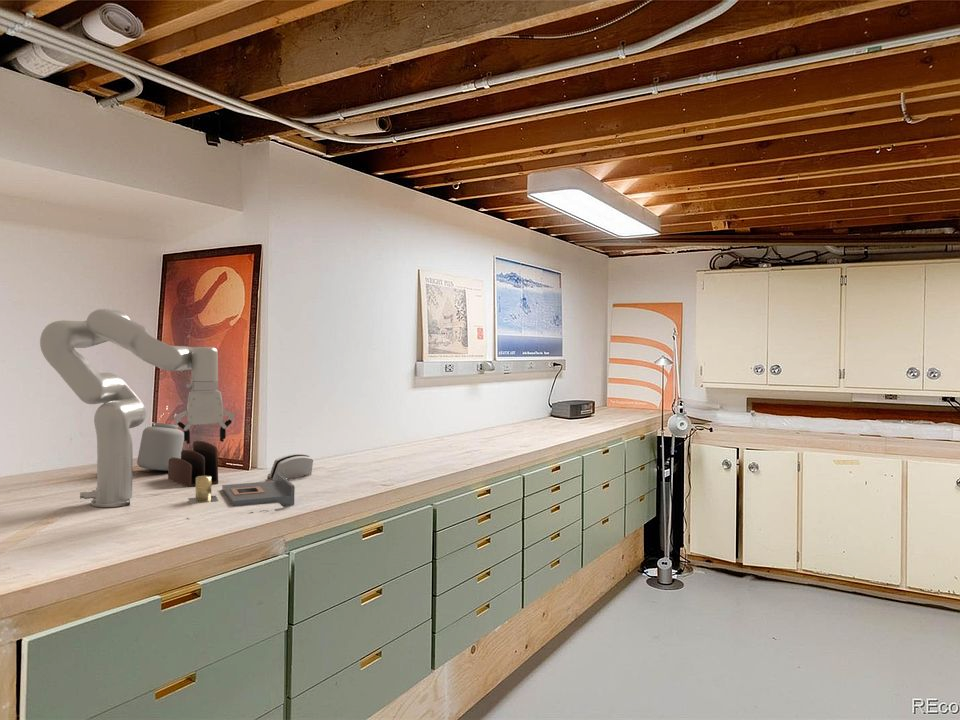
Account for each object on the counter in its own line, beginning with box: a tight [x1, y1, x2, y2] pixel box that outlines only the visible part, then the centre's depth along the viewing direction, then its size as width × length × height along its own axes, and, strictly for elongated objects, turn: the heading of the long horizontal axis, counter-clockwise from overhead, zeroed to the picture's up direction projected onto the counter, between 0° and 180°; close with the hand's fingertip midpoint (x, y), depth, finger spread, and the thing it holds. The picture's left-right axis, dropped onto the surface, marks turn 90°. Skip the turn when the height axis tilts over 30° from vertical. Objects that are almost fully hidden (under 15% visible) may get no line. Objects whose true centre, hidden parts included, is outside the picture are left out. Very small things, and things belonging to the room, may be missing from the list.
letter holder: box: [167, 440, 219, 488], centre depth 234 cm, size 10×20×14 cm, turn 46°
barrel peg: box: [195, 476, 212, 501], centre depth 202 cm, size 4×4×7 cm
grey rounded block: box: [266, 453, 314, 481], centre depth 245 cm, size 17×5×10 cm, turn 141°
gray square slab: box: [188, 495, 220, 505], centre depth 202 cm, size 8×8×2 cm
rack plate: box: [221, 472, 296, 507], centre depth 210 cm, size 18×24×6 cm
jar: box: [136, 405, 185, 472], centre depth 252 cm, size 19×15×25 cm
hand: (205, 442), depth 202 cm, fingers open, 9 cm apart
